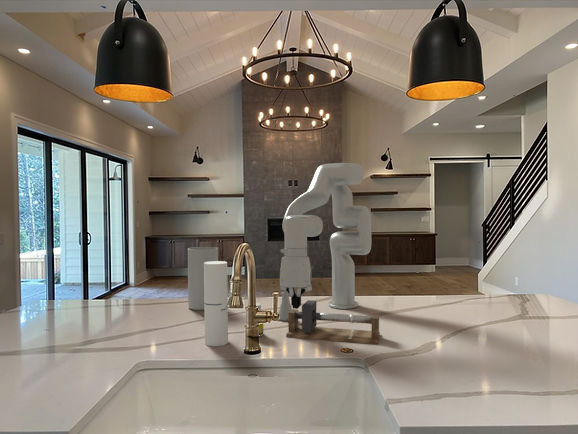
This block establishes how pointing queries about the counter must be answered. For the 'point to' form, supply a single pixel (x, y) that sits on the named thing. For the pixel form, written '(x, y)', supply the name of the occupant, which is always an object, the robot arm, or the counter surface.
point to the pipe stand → (335, 332)
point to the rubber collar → (308, 316)
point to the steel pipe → (337, 317)
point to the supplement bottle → (260, 324)
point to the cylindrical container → (216, 303)
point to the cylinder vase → (198, 274)
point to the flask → (284, 307)
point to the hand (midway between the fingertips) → (296, 307)
